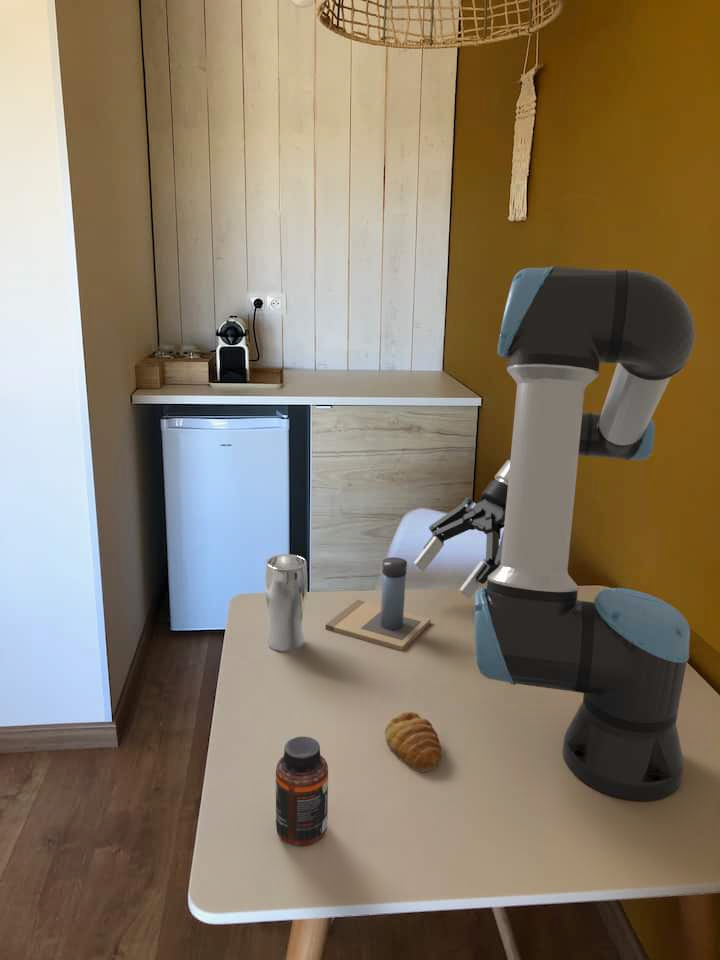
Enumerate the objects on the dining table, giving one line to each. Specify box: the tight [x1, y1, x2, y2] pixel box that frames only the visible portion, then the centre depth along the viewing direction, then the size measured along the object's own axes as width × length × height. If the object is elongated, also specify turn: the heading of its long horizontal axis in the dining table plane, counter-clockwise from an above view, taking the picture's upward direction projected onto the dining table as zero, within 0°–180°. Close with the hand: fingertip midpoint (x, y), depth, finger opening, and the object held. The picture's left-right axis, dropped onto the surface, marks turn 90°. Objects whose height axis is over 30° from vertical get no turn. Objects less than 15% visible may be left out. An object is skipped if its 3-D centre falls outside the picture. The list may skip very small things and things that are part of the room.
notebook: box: [325, 599, 431, 651], centre depth 139 cm, size 12×15×1 cm
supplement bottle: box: [275, 736, 329, 847], centre depth 88 cm, size 6×6×11 cm
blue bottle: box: [380, 556, 408, 630], centre depth 136 cm, size 4×4×12 cm
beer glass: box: [264, 553, 308, 653], centre depth 130 cm, size 7×7×15 cm
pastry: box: [384, 711, 444, 773], centre depth 104 cm, size 9×7×4 cm
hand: (440, 580), depth 141 cm, fingers open, 13 cm apart
